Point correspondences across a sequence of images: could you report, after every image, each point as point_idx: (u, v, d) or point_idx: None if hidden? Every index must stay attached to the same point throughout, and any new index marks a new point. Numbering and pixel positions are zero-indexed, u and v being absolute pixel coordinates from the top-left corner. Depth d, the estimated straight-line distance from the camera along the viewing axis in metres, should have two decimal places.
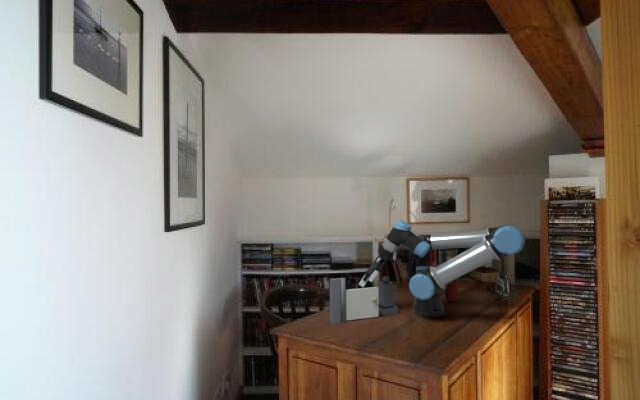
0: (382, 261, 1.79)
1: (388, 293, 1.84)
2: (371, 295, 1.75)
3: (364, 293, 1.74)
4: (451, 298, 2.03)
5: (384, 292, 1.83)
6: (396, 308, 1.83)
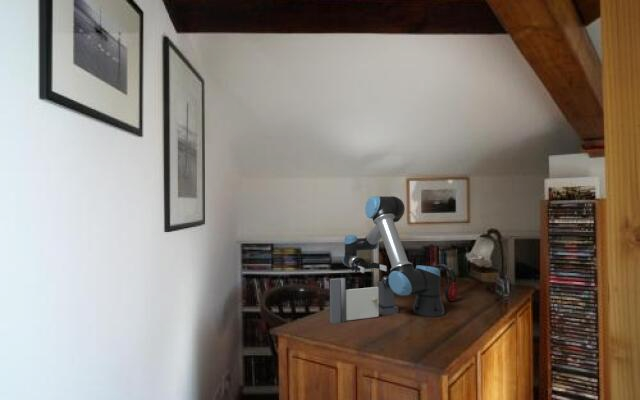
0: (359, 263, 2.11)
1: (388, 293, 1.84)
2: (371, 295, 1.75)
3: (364, 293, 1.74)
4: (451, 298, 2.03)
5: (384, 292, 1.83)
6: (396, 308, 1.83)
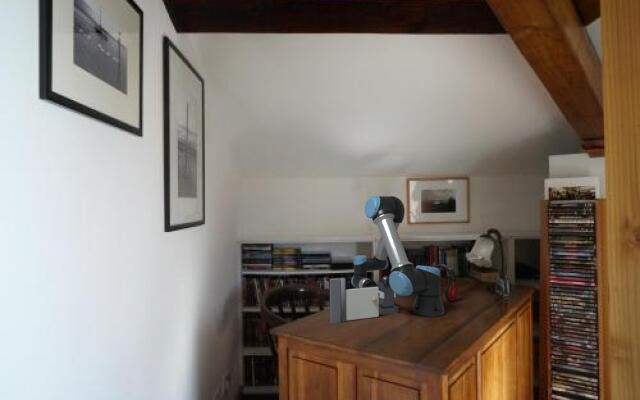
0: (370, 286, 1.98)
1: (388, 293, 1.84)
2: (371, 295, 1.75)
3: (364, 293, 1.74)
4: (451, 298, 2.03)
5: (384, 292, 1.83)
6: (396, 308, 1.84)
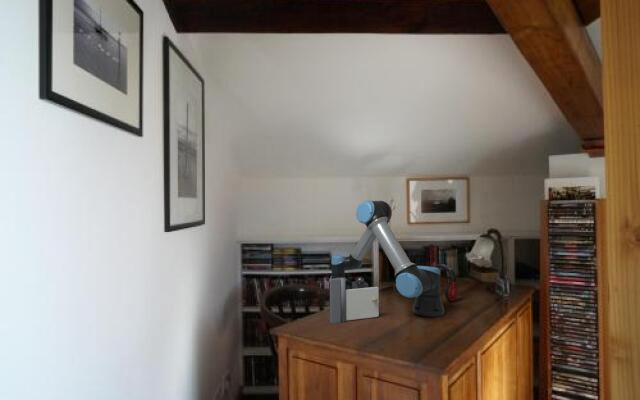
0: (346, 286, 1.95)
1: None
2: (371, 295, 1.75)
3: (364, 293, 1.74)
4: (451, 298, 2.03)
5: None
6: None
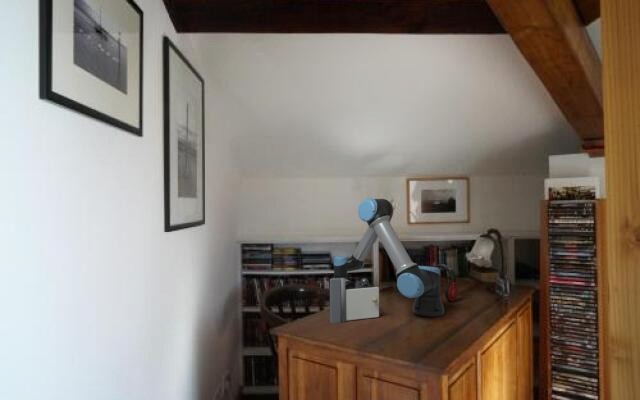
0: (349, 287, 1.91)
1: None
2: (371, 295, 1.75)
3: (364, 293, 1.74)
4: (451, 298, 2.03)
5: None
6: None
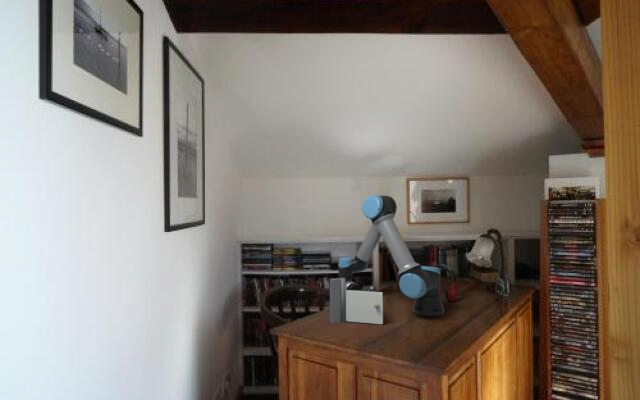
0: (354, 290, 1.85)
1: None
2: (374, 300, 1.66)
3: (365, 297, 1.67)
4: (451, 298, 2.03)
5: None
6: None
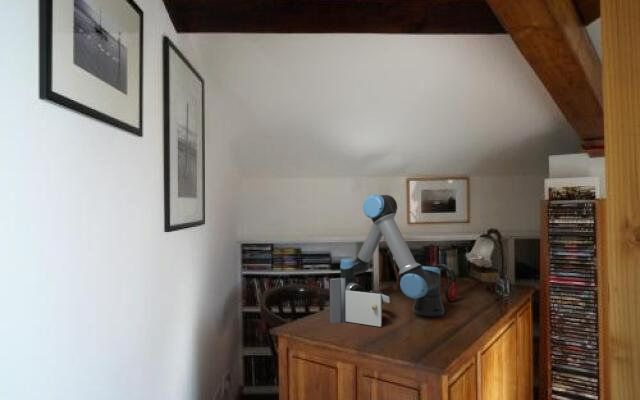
0: (357, 291, 1.83)
1: None
2: (372, 301, 1.64)
3: (364, 298, 1.65)
4: (451, 298, 2.03)
5: None
6: None
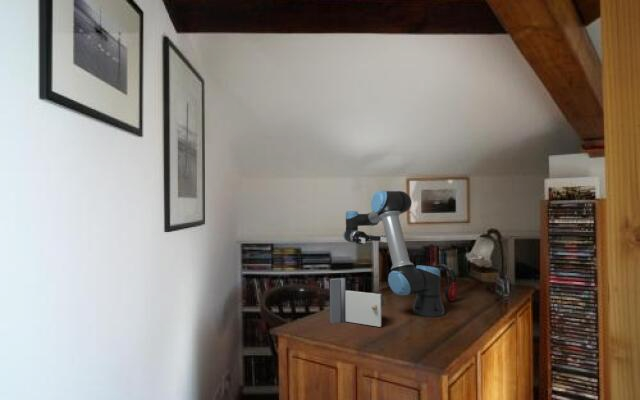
0: (360, 235, 2.13)
1: None
2: (372, 302, 1.63)
3: (364, 298, 1.65)
4: (451, 298, 2.03)
5: None
6: None
